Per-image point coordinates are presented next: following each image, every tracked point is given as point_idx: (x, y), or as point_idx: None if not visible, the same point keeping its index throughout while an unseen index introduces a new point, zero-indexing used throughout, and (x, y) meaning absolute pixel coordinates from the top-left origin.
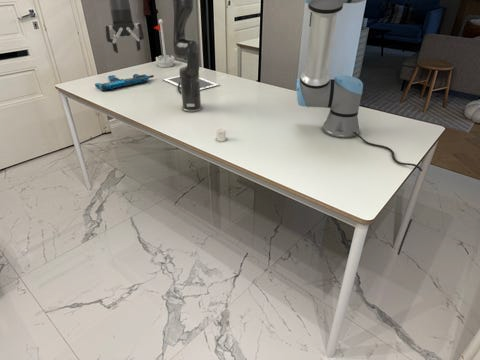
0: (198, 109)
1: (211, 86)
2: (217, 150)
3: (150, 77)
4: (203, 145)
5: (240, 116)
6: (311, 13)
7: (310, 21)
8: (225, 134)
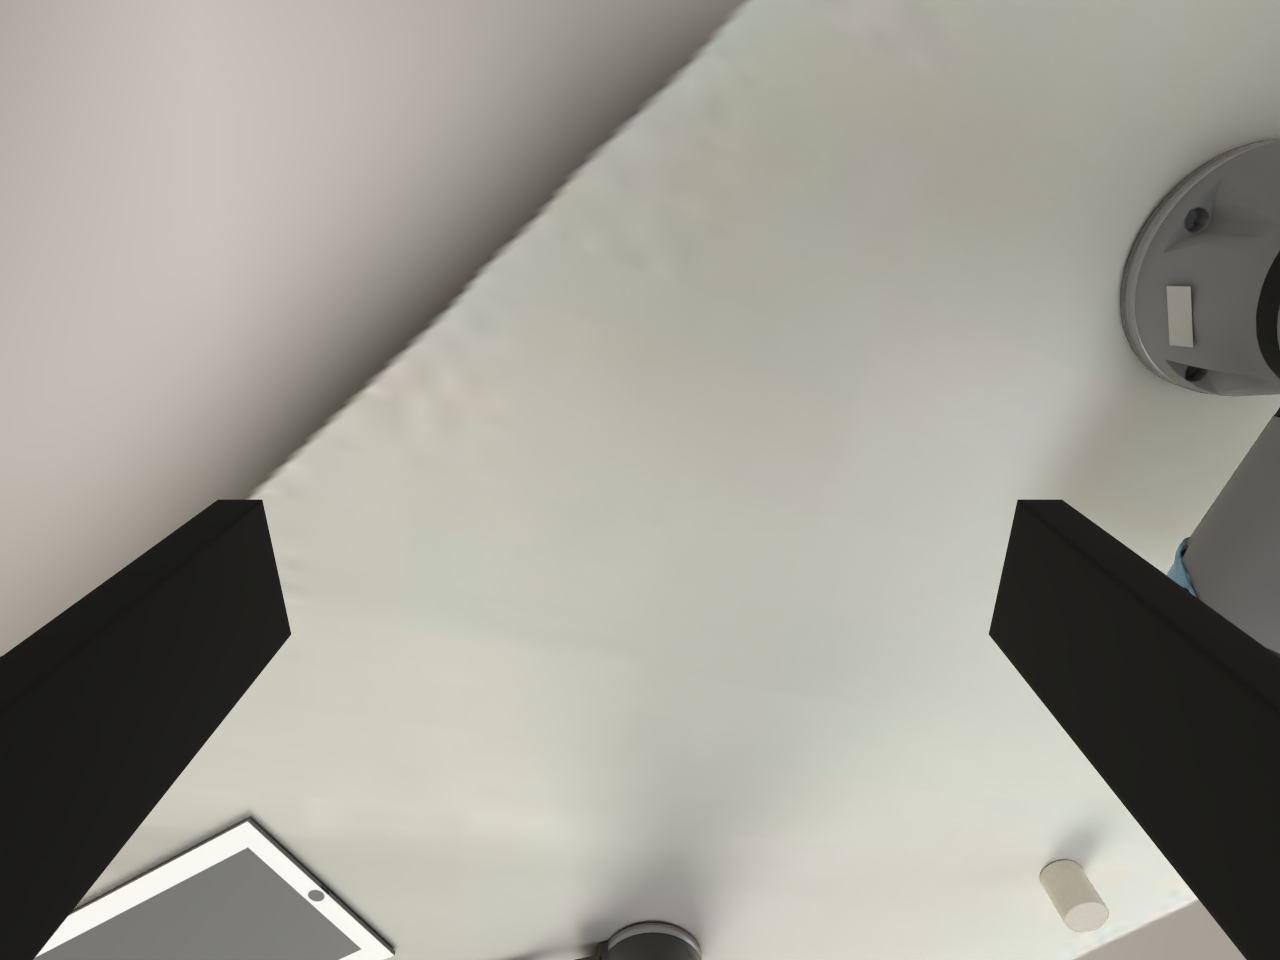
0: (690, 940)
1: (288, 863)
2: (1155, 894)
3: None
4: (1085, 933)
5: (815, 772)
6: (41, 928)
7: (223, 713)
8: (1088, 885)
